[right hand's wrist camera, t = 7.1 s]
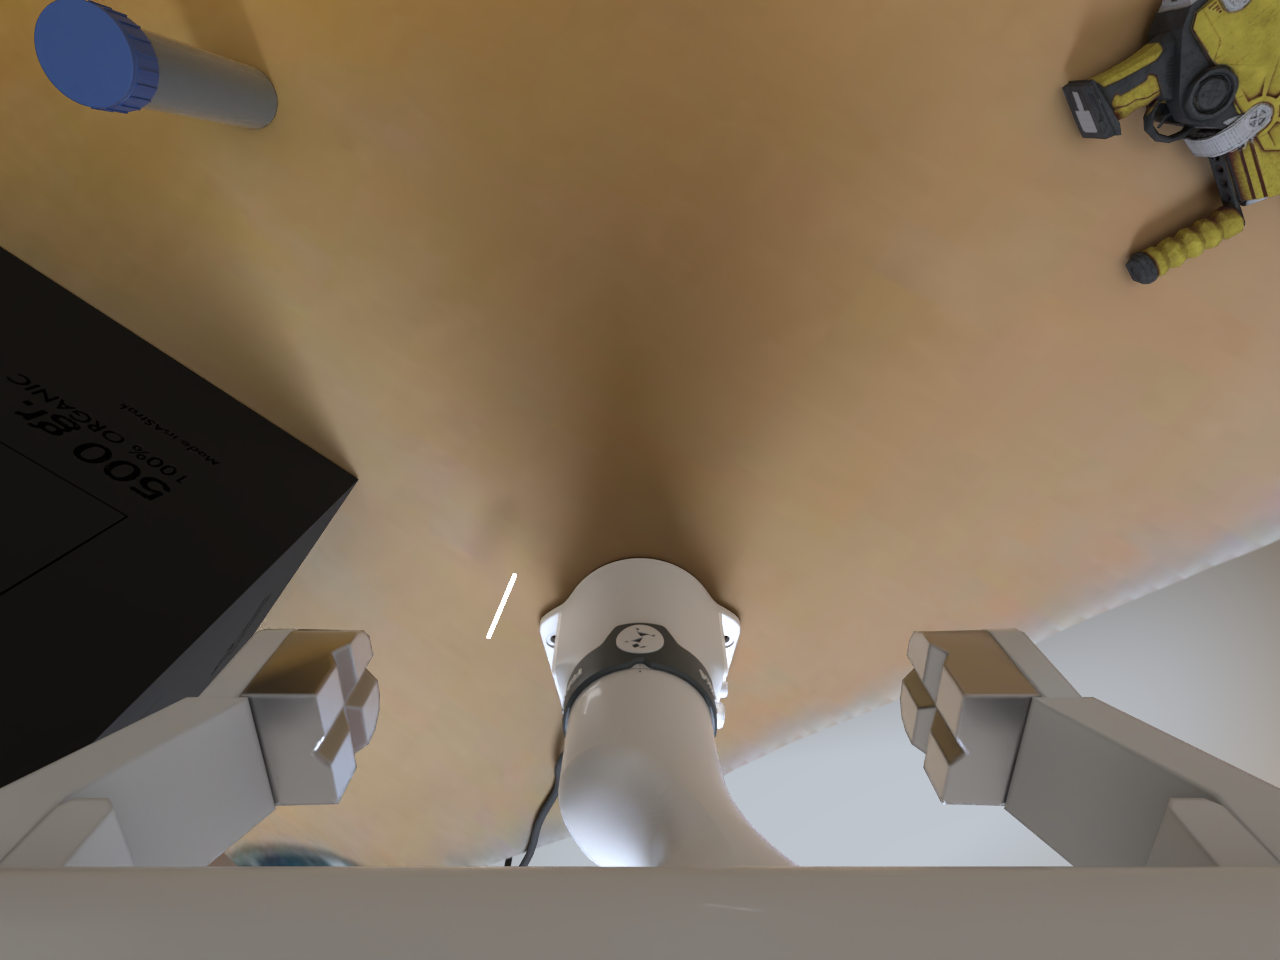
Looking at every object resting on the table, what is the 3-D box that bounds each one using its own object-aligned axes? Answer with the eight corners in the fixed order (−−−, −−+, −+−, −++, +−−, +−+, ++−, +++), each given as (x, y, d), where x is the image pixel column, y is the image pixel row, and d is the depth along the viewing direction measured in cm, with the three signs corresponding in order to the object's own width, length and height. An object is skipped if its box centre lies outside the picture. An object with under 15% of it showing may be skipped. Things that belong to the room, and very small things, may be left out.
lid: (114, 132, 39) (85, 128, 37) (45, 42, 37) (11, 33, 35) (180, 80, 38) (154, 73, 36) (112, -14, 36) (81, -26, 34)
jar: (246, 140, 51) (91, 117, 37) (207, 85, 50) (30, 38, 35) (289, 108, 51) (148, 71, 36) (251, 52, 49) (88, -10, 35)
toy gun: (1214, 370, 54) (1424, 223, 49) (1043, 128, 47) (1268, -74, 42) (1175, 352, 58) (1364, 215, 53) (1012, 127, 51) (1213, -57, 46)
